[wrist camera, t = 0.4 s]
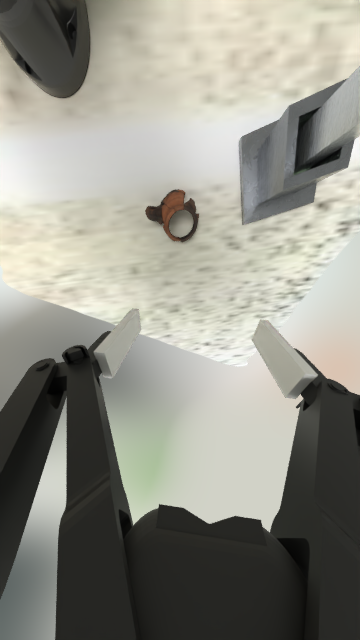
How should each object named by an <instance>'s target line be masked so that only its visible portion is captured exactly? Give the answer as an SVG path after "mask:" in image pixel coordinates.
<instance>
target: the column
mask: <svg viewBox="0 0 360 640" xmlns="http://www.w3.org/2000/svg"><path fill="white" fill-rule="evenodd" d="M359 136H360V66H359V67H358V68H357V69H356V70H355V71H354V73H353V74H352V75H351V76H350V77H349V78H348V79H347V80H346V81H345V82H344V83H343V84H342V85H341V86H340V87H339V89H338V90H337V91H336V92H335V93H334V94H333V95H332V96H331V97H330V98H329V99H328V100H327V101H326V102H325V103H324V105H323V106H322V107H321V108H320V109H319V110H318V111H317V112H316V113H315V114H314V115H313V116H312V117H311V118H310V119H309V120H308V122H307V123H306V124H305V125H304V126H303V127H302V128H301V129H300V130H299V131H298V133H297V144H296V154H295V165H294V175H297V174H299V173H302V172H305V171H307V170H310V168H311V167H312V166H314V165H315V164H317V163H318V162H320V161H321V160H323V159H325V158H326V157H328V156H329V155H331V154H332V153H334V152H335V151H337V150H339V149H340V148H342V147H343V146H345V145H346V144H348V143H349V142H351V141H353V140H354V139H356V138H357V137H359ZM294 175H293V176H294Z"/></svg>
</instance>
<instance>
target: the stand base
mask: <svg viewBox="0 0 360 640" xmlns="http://www.w3.org/2000/svg"><path fill="white" fill-rule="evenodd" d="M347 79H348V78H347ZM347 79H345V80H343V81H341V82H339V83H337V84H335V85H332V86H330V87H328V88H326V89H324V90H322V91H320V92H317V93H315V94H313V95H311V96H309V97H307V98H305V99H302V100H300V101H298V102H296V103H294V104H292V105H290V106H289V107H288V108H287V109H286V111H285V112H284V114H283V115H282V117H281V118H280V120H277V121H275V122H273V123H271V124H269V125H266V126H264V127H262V128H260V129H258V130H255V131H253V132H251V133H249V134H247V135H244V136H242V137H241V139H240V141H239V154H240V177H241V201H242V225H244V224H247V223H250V222H254V221H257V220H260V219H263V218H266V217H269V216H272V215H275V214H278V213H282V212H285V211H288V210H291V209H294V208H297V207H300V206H303V205H307V204H310V203H313V202H314V196H315V190H316V183H317V182H319V181H321V180H323V179H325V178H327V177H329V176H331V175H333V174H335V173H337V172H339V171H341V170H343V169H345V168H348V165H349V161H350V157H351V152H352V148H353V144H354V140H353V141H351V142H349V143H348V144H346V145H345V146H343V147H342V148H340V149H339V150H337V151H335V152H334V153H332V154H331V155H329V156H328V157H326V158H325V159H323V160H321V161H320V162H318V163H317V164H315V165H314V166H312V167H311V168H310V170H307V171H305V172H302V173H299V174H297V175H294V165H295V154H296V144H297V133H298V131H299V130H300V129H301V128H302V127H303V126H304V125H305V124H306V123H307V122H308V120H309V119H310V118H311V117H312V116H313V115H314V114H315V113H316V112H317V111H318V110H319V109H320V108H321V107H322V106H323V105H324V103H325V102H326V101H327V100H328V99H329V98H330V97H331V96H332V95H333V94H334V93H335V92H336V91H337V90H338V89H339V87H340V86H341V85H342V84H343V83H344V82H345V81H346V80H347ZM293 175H294V176H293Z"/></svg>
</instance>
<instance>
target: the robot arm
mask: <svg viewBox="0 0 360 640" xmlns="http://www.w3.org/2000/svg"><path fill="white" fill-rule="evenodd" d="M0 41H1V42H2V44H3V45H4V47H5V48H6V50H7V51H8V53H9V54H10V55H11V57H12V58H13V59H14V61H15V62H16V63H17V64H18V66H19V67H20V68H21V69H22V70H23V71H24V72H25V73H26V74H27V75H28V76H29V77H30V78H31V79H32V80H33V81H34V83H35V84H37V85H38V86H39V87H40V88H41V89H42V90H44V91H45V92H47V93H48V94H50V95H53V96H55V97H68V96H70V95H72V94H73V93H75V92H76V91H77V90H78V88H79V87H80V86H81V84H82V82H83V80H84V77H85V74H86V71H87V66H88V60H89V49H90V38H89V24H88V17H87V11H86V5H85V1H84V0H0ZM140 331H141V324H140V316H139V309H131V310H130V311H129V312H128V314H127V315H126V316H125V317H124V318H123V319H122V320H121V321H120V323H119V324H118V325H117V326H116V327H115V328H114V329H113V331H107V332H105V333H104V334H102V335H101V336H100V337H99V339H97V340H96V341H95V342H94V343H93V344H92V345H91V346H90V348H89V349H88V350H87V349H86V347H85V346H83V345H77V346H73V347H71V348H69V349H67V350H65V352H63V354H62V357H63V359H64V361H65V362H61V363H56V362H55V360H54V359H51V358H49V359H44V360H41V361H39V362H37V363H35V364H34V365H32V366H31V367H30V368H29V369H28V371H27V372H26V374H25V376H24V377H23V378H22V380H21V382H20V383H19V385H18V386H17V388H16V389H15V390H14V392H13V393H12V395H11V396H10V398H9V399H8V401H7V403H6V404H5V406H4V407H3V409H2V410H1V412H0V599H1V596H2V594H3V591H4V589H5V586H6V583H7V580H8V577H9V575H10V572H11V569H12V566H13V563H14V560H15V557H16V554H17V551H18V548H19V545H20V542H21V538H22V535H23V532H24V529H25V526H26V522H27V519H28V516H29V513H30V510H31V507H32V503H33V500H34V497H35V494H36V491H37V488H38V485H39V482H40V478H41V475H42V472H43V469H44V466H45V463H46V459H47V456H48V453H49V450H50V447H51V444H52V441H53V437H54V434H55V431H56V428H57V425H58V421H59V419H60V415H61V412H62V409H63V406H64V403H65V399H66V396H67V501H66V508H65V511H64V513H63V515H62V518H61V522H60V526H59V537H58V568H57V601H56V637H55V640H360V395H357V394H354V393H351V392H349V391H348V390H347V389H346V388H345V387H344V386H343V385H341V384H340V383H338V382H336V381H334V380H331V379H327V378H326V377H325V376H324V375H323V374H322V373H321V372H320V371H319V370H318V369H317V368H316V367H315V366H314V365H313V364H312V363H311V362H310V361H309V360H308V359H307V358H306V357H305V355H304V354H302V353H301V352H300V351H298V350H297V349H295V348H293V347H292V346H291V345H290V344H289V343H288V342H287V341H286V340H285V339H284V338H283V337H282V335H281V334H280V333H279V332H278V331H277V330H276V329H275V328H274V327H273V325H272V324H271V323H270V322H269V321H268V320H260V322H259V324H258V326H257V329H256V331H255V333H254V336H253V338H252V341H253V343H254V345H255V346H256V348H257V350H258V352H259V353H260V355H261V357H262V358H263V360H264V362H265V363H266V365H267V367H268V369H269V370H270V372H271V374H272V376H273V377H274V379H275V381H276V382H277V384H278V386H279V388H280V389H281V391H282V393H283V395H284V396H285V398H294V399H296V398H297V397H298V396H299V395H300V394H301V395H302V397H303V398H304V399H303V400H302V401H301V402H300V403H299V404H298V405H297V406H296V408H299V407H300V411H299V416H298V421H297V426H296V431H295V436H294V441H293V446H292V451H291V456H290V461H289V466H288V471H287V477H286V481H285V486H284V492H283V497H282V501H281V506H280V509H279V512H278V513H277V515H276V516H275V518H274V521H273V523H272V526H271V530H270V532H268V531H267V530H266V529H265V528H263V527H262V523H261V520H257V519H251V518H244V517H238V516H234V517H231V518H227V519H224V520H221V521H218V522H215V523H212V524H208V523H206V522H205V521H203V520H202V519H200V518H198V517H197V516H195V515H194V514H192V513H190V512H189V511H187V510H186V509H184V508H179V507H173V506H167V505H160V504H159V508H158V509H155V510H152V511H150V512H148V513H147V514H145V515H144V516H143V517H141V518H140V519H139V520H138V521H137V522H136V523H135V524H134V526H133V522H132V518H131V513H130V509H129V504H128V500H127V497H126V493H125V491H124V487H123V484H122V480H121V475H120V470H119V466H118V461H117V457H116V452H115V447H114V443H113V438H112V434H111V429H110V425H109V420H108V416H107V411H106V407H105V402H104V397H103V393H102V388H101V384H100V379H99V376H100V374H101V373H102V375H103V377H106V378H113V377H114V376H115V374H116V372H117V370H118V369H119V367H120V365H121V364H122V362H123V360H124V358H125V357H126V355H127V353H128V351H129V350H130V348H131V346H132V345H133V343H134V341H135V339H136V338H137V336H138V334H139V332H140Z"/></svg>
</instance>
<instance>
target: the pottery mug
mask: <svg viewBox="0 0 360 640" xmlns="http://www.w3.org/2000/svg"><path fill="white" fill-rule="evenodd" d="M184 195H185V192H184V191H183V190H173V191H171V192H170V193H169V194H167V196H166V197H165V198H164V199H163V201H162V202H161V205H159V206H157V207H153V206H148V207H147V208H146V210H145V212H146V215H147V217H148V219H150V220H152V221H156V222H158V223H159V224H160V225H161V224H162V223H164V226H163V228H164V230H165V232H166V234H167V235H168V236H169V237H170V238H171V239H172V240H174V241H181V242H184V241H186V240H188V239H190V238H191V237H192V236H193V234H194V233H195V231H196V228H197V224H198V218H199V214H196V213H195V212H196V207H195V202H194V201H193V200H192V199H191V198H190V200H189V201H188V202H186V203H185V204H184ZM179 210H187V211H189V212H190V213H191V214H192V216H193V220H194V224H193V228H192V230H191V231H190V233H189V234H188V235H186V236H184V237H181V238H179V237H175V236H173V235H172V234H171V232H170V230H169V221H170V218H171V216H172V215H173V214H174V213H175V212H177V211H179Z"/></svg>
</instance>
